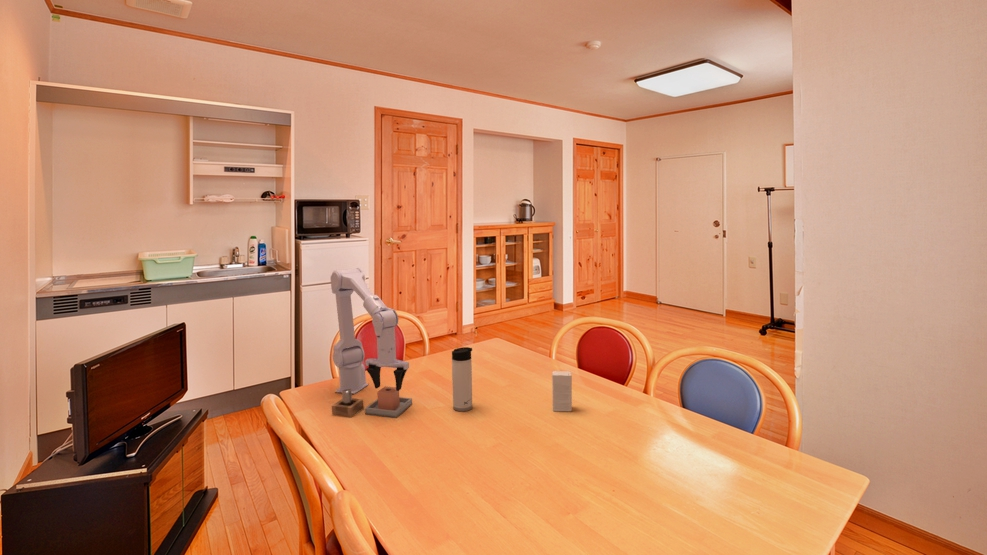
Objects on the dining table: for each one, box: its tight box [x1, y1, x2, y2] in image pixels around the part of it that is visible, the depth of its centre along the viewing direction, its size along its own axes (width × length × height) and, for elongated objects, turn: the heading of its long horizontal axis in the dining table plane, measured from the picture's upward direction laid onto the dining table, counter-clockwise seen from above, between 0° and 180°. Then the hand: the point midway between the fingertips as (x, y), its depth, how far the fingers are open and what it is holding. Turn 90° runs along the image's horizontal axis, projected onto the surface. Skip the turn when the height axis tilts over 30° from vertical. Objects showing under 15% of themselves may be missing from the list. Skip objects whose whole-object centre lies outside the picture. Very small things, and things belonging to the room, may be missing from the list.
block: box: [377, 385, 400, 411], centre depth 154 cm, size 5×5×6 cm
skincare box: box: [551, 370, 573, 412], centre depth 152 cm, size 6×4×12 cm
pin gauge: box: [341, 389, 353, 406], centre depth 153 cm, size 3×3×7 cm
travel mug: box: [451, 346, 473, 412], centre depth 154 cm, size 6×7×20 cm
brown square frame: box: [331, 397, 365, 418], centre depth 153 cm, size 7×7×3 cm
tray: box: [364, 396, 413, 419], centre depth 155 cm, size 11×11×2 cm
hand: (388, 388), depth 154 cm, fingers open, 7 cm apart
